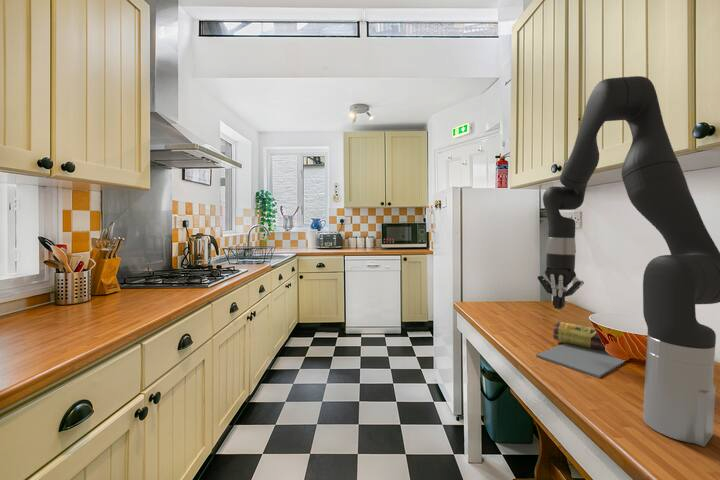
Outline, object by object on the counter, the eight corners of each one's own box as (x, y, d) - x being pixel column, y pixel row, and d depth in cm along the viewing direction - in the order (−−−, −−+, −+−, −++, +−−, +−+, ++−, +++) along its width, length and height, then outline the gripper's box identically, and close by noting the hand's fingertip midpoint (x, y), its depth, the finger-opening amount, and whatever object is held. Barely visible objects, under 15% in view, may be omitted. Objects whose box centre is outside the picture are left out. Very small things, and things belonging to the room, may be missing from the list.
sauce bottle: (557, 320, 113) (632, 334, 100) (555, 338, 112) (631, 355, 99) (553, 321, 108) (632, 336, 95) (551, 340, 107) (630, 358, 95)
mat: (631, 358, 97) (631, 356, 97) (598, 377, 84) (599, 375, 84) (571, 342, 110) (571, 340, 110) (536, 356, 98) (536, 354, 98)
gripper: (532, 251, 105) (530, 305, 106) (578, 254, 94) (576, 315, 95) (545, 250, 109) (543, 302, 110) (590, 253, 98) (588, 311, 99)
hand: (558, 308), depth 103 cm, fingers closed
